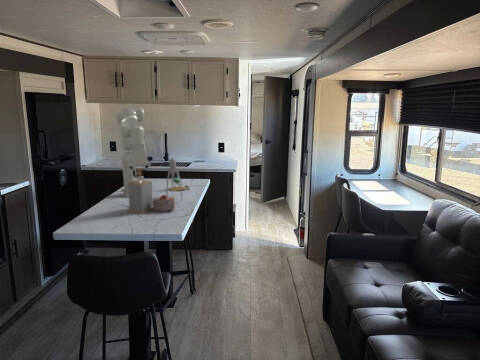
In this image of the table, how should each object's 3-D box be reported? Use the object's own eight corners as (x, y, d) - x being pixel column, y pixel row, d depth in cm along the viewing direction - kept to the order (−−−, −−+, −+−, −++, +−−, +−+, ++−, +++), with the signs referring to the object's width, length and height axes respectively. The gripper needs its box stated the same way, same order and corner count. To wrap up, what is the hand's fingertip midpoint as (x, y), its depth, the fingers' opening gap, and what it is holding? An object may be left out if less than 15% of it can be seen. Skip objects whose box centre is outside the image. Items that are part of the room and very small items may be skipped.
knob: (132, 208, 224) (129, 169, 219) (140, 205, 231) (138, 167, 226) (142, 210, 221) (140, 170, 216) (150, 207, 228) (148, 168, 223)
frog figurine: (187, 191, 275) (185, 173, 272) (165, 193, 278) (162, 174, 275) (191, 188, 284) (188, 170, 281) (170, 190, 287) (167, 172, 285)
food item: (175, 208, 230) (174, 193, 228) (175, 211, 222) (174, 196, 220) (153, 209, 228) (152, 194, 226) (152, 212, 221) (151, 197, 219)
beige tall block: (127, 211, 223) (125, 183, 219) (140, 206, 234) (138, 179, 230) (143, 213, 218) (141, 184, 215) (155, 208, 229) (153, 181, 225)
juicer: (179, 203, 242) (178, 159, 236) (166, 202, 244) (165, 158, 238) (184, 199, 252) (183, 156, 246) (172, 198, 254) (171, 156, 248)
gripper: (123, 148, 212) (125, 178, 215) (152, 147, 218) (154, 176, 221) (122, 146, 218) (124, 176, 222) (151, 145, 224) (152, 174, 228)
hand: (139, 176), depth 222 cm, fingers closed on knob, 4 cm apart
